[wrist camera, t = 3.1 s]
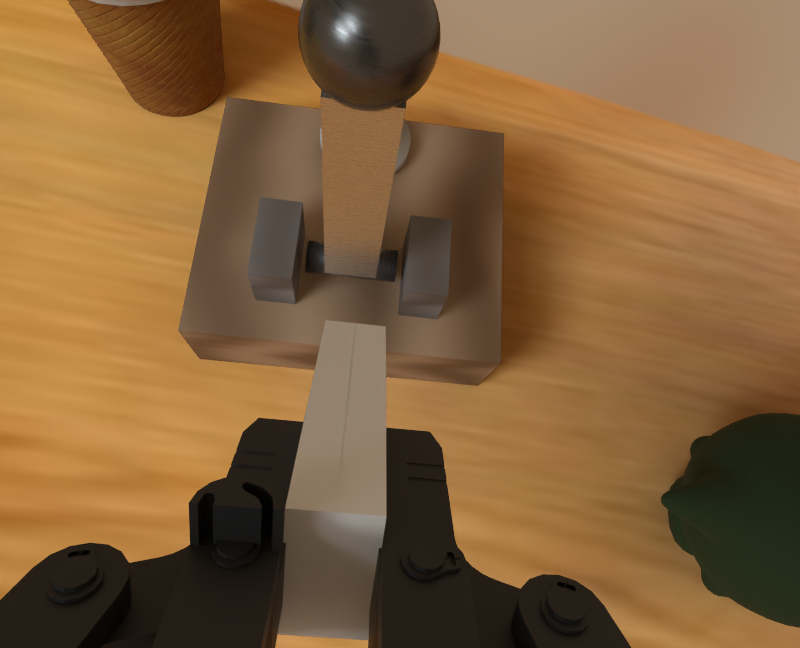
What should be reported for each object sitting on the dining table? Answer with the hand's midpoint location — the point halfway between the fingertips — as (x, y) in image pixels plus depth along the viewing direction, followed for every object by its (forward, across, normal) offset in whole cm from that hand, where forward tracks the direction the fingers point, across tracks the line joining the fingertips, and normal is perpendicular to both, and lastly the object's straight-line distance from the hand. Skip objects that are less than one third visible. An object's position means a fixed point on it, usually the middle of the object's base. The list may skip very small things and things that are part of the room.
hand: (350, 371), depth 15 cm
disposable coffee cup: (+30, -14, +4) cm, 33 cm away
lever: (+15, 0, -2) cm, 15 cm away
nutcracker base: (+21, 0, -5) cm, 22 cm away
